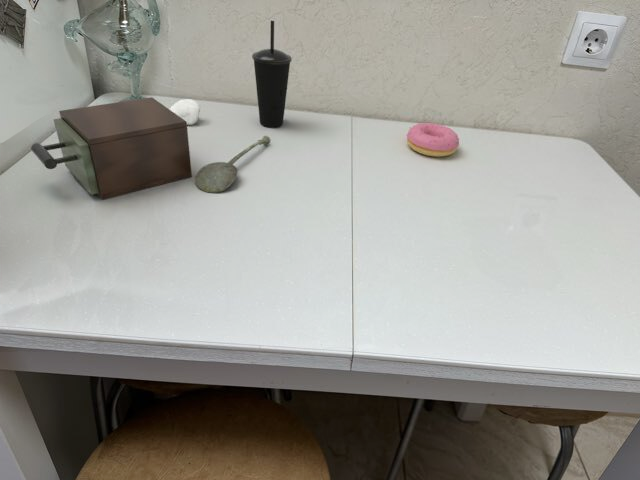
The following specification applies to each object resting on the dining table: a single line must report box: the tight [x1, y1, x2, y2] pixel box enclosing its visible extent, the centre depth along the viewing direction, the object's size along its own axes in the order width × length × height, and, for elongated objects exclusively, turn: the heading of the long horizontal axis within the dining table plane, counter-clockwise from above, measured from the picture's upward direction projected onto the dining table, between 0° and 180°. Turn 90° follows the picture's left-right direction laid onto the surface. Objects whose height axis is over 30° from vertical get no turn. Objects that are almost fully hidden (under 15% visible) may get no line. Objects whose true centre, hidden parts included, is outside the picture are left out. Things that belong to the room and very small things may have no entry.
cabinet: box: [58, 96, 193, 201], centre depth 78 cm, size 15×12×10 cm
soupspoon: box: [194, 135, 272, 194], centre depth 87 cm, size 22×3×7 cm
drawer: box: [30, 117, 99, 195], centre depth 76 cm, size 18×11×8 cm, turn 132°
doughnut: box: [406, 122, 460, 158], centre depth 101 cm, size 11×11×4 cm
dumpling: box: [168, 98, 201, 126], centre depth 100 cm, size 7×5×4 cm
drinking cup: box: [251, 20, 293, 129], centre depth 98 cm, size 8×8×20 cm
